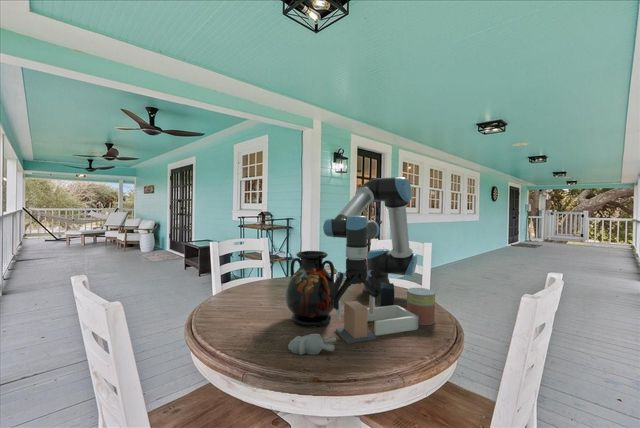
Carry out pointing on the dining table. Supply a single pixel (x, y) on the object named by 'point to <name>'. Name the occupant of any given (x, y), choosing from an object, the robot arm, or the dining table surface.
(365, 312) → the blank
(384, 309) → the slot rack
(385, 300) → the small box
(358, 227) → the robot arm
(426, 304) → the canned food
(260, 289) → the dining table surface
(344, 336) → the slate mat
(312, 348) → the bunny figurine
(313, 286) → the amphora vase
